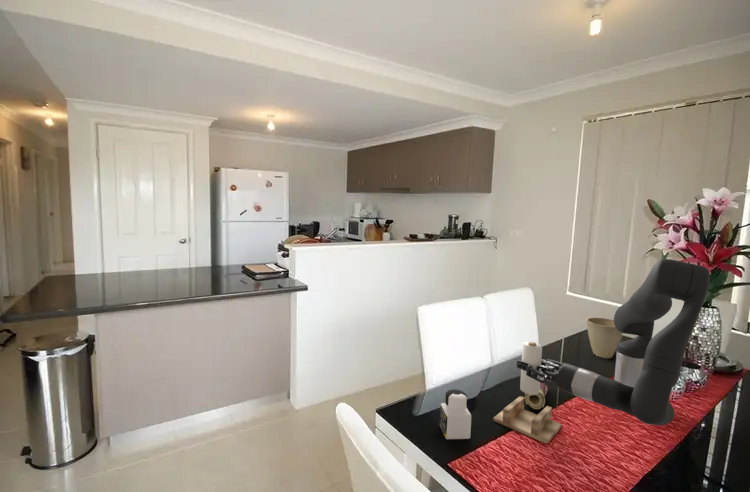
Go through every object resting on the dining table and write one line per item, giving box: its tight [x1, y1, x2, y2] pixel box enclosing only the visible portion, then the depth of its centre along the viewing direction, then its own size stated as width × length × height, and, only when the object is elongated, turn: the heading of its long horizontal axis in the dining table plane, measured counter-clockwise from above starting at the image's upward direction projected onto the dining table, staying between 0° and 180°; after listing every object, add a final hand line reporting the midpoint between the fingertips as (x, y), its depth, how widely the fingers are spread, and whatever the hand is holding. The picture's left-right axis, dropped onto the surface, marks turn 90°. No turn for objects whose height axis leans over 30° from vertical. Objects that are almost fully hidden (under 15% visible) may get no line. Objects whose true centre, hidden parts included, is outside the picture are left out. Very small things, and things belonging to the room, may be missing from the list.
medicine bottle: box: [439, 388, 472, 440], centre depth 109 cm, size 7×7×12 cm
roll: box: [519, 341, 543, 394], centre depth 113 cm, size 5×5×15 cm
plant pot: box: [586, 317, 624, 359], centre depth 174 cm, size 15×15×16 cm
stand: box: [492, 395, 562, 444], centre depth 115 cm, size 12×16×5 cm
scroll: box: [524, 382, 549, 410], centre depth 131 cm, size 8×8×20 cm
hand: (523, 361), depth 115 cm, fingers closed on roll, 5 cm apart
